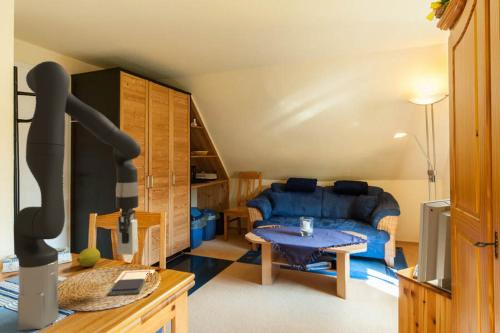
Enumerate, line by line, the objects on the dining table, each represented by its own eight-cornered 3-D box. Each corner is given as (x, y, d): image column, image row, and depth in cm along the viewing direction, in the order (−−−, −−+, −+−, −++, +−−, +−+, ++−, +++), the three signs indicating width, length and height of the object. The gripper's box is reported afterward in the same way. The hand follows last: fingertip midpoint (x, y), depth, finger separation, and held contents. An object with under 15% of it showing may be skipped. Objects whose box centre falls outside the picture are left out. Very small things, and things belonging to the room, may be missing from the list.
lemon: (94, 261, 136) (94, 244, 136) (105, 264, 132) (105, 246, 132) (71, 268, 127) (70, 250, 126) (81, 271, 123) (81, 253, 123)
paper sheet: (149, 281, 113) (149, 280, 113) (114, 283, 111) (114, 282, 111) (154, 270, 125) (154, 269, 125) (123, 271, 123) (123, 270, 123)
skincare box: (138, 251, 108) (138, 219, 108) (132, 255, 104) (132, 221, 104) (122, 250, 109) (122, 219, 109) (116, 254, 105) (116, 221, 104)
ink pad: (139, 293, 102) (139, 288, 102) (109, 295, 101) (109, 290, 101) (145, 282, 112) (145, 277, 112) (117, 283, 111) (117, 279, 111)
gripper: (133, 197, 100) (133, 246, 100) (142, 192, 114) (142, 235, 114) (109, 197, 98) (110, 247, 99) (122, 192, 113) (122, 236, 113)
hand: (127, 240), depth 106 cm, fingers closed on skincare box, 5 cm apart
